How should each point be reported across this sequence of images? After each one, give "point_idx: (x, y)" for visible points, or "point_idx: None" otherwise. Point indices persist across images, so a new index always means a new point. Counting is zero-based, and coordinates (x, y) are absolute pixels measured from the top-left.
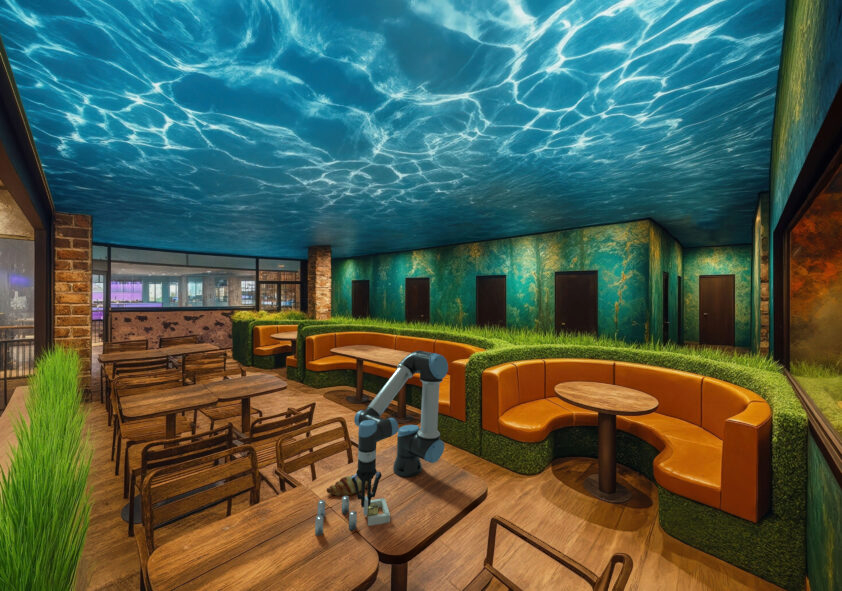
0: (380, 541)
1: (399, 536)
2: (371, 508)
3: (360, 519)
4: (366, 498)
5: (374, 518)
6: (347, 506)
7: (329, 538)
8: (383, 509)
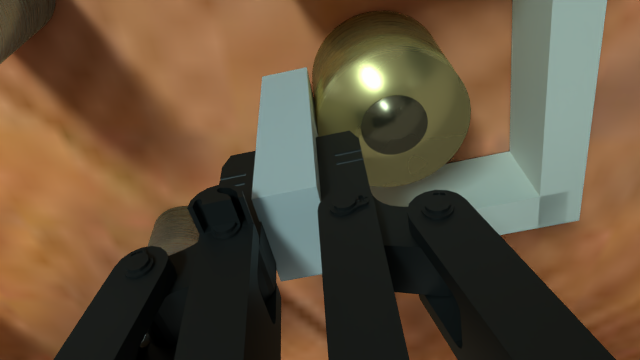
0: (425, 338)
1: (572, 304)
2: (375, 150)
3: (243, 130)
4: (308, 241)
5: None
6: (8, 54)
7: (33, 321)
8: (529, 48)
